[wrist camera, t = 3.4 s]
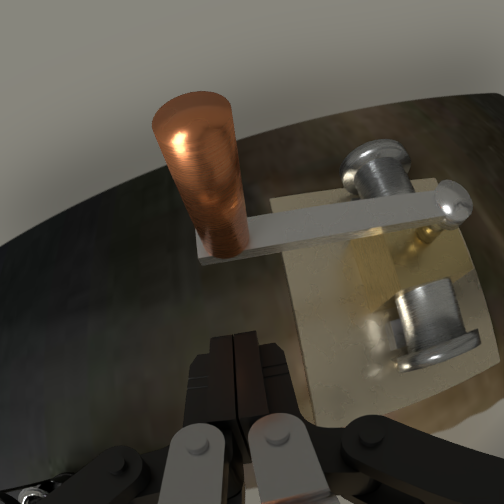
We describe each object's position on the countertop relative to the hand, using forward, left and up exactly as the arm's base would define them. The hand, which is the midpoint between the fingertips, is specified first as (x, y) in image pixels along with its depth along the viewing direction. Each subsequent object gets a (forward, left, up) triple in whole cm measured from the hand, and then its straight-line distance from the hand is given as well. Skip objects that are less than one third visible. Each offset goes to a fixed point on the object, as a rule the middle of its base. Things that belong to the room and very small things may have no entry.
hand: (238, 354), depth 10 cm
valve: (-14, -5, -16) cm, 22 cm away
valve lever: (-7, -6, -5) cm, 10 cm away
